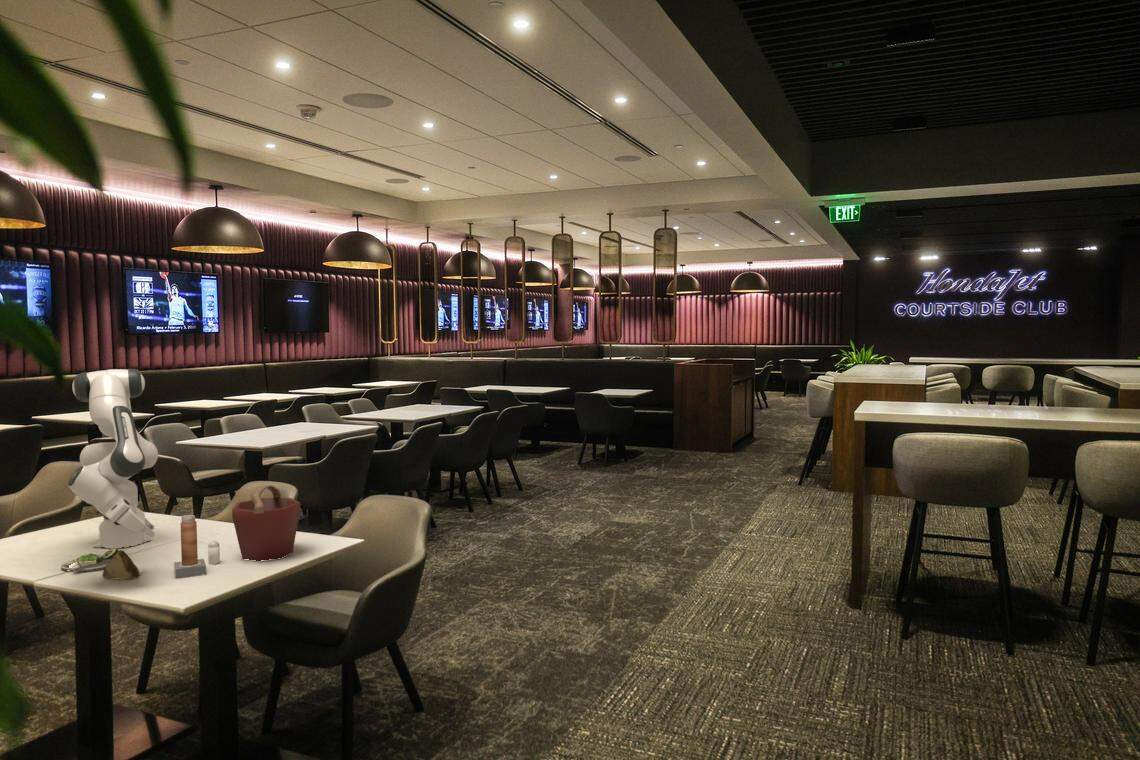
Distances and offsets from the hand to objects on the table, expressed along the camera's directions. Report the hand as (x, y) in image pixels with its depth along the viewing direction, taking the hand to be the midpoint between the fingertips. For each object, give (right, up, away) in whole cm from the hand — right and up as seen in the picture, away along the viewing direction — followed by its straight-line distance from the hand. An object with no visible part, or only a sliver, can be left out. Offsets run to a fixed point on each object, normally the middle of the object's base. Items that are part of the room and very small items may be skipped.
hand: (153, 532), depth 251 cm
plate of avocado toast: (-29, -15, +16) cm, 36 cm away
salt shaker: (+12, -14, +17) cm, 25 cm away
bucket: (+26, -14, +27) cm, 40 cm away
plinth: (+9, -15, +6) cm, 18 cm away
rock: (-11, -15, +1) cm, 19 cm away
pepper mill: (+9, -12, +6) cm, 16 cm away
